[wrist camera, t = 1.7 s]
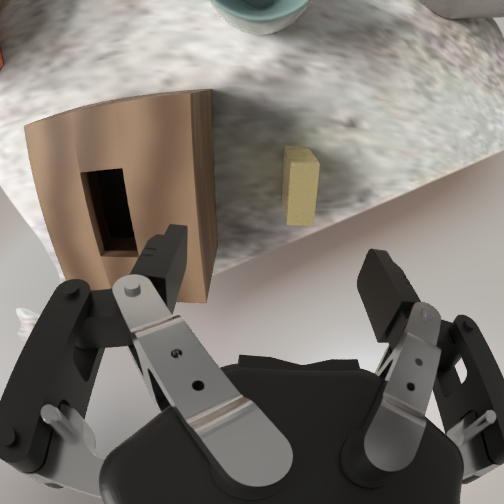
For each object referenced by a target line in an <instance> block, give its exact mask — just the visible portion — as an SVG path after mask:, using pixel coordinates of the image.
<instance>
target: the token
mask: <svg viewBox="0 0 504 504" xmlns="http://www.w3.org/2000/svg"><path fill="white" fill-rule="evenodd" d="M319 170H320V163H319V161H318V160H317V159H316V157H315V156H314V154H313V153H312V152H311V150H310V149H309V148H308V147H289V146H284V164H283V183H282V204H283V209H284V214H285V220H286V225H293V226H313V225H314V216H315V208H316V199H317V190H318V180H319Z"/></svg>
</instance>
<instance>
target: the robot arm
mask: <svg viewBox="0 0 504 504" xmlns="http://www.w3.org/2000/svg"><path fill="white" fill-rule="evenodd" d="M420 1H421V2H422V3H423V4H424V5H425V6H426V7H428V8H429V9H430V10H431V11H433V12H435V13H436V14H438V15H440V16H442V17H445V18H449V19H460V18H468V19H477V18H493V17H504V0H420ZM187 243H188V227H187V226H186V225H177V224H169V226H168V228H167V230H166V232H165V234H164V235H161V234H156V235H154V236H153V237H152V238H150V239H149V240H148V241H147V243H146V245H145V247H144V249H143V250H142V252H141V255H140V256H139V257H138V259H137V261H136V263H135V265H134V267H133V269H132V271H131V272H130V274H129V275H127V276H124V277H122V278H120V279H118V280H117V281H116V282H115V283H114V285H113V288H110V289H103V290H91V289H90V286H89V284H88V283H87V282H86V281H84V280H82V279H70V280H67V281H65V282H63V283H61V284H60V285H59V286H58V287H57V288H56V290H55V291H54V293H53V295H52V296H51V298H50V300H49V301H48V303H47V305H46V306H45V308H44V310H43V312H42V314H41V315H40V317H39V319H38V321H37V323H36V324H35V326H34V328H33V330H32V332H31V334H30V336H29V338H28V340H27V342H26V344H25V346H24V348H23V350H22V352H21V354H20V356H19V358H18V360H17V363H16V365H15V367H14V370H13V371H12V374H11V376H10V378H9V381H8V383H7V386H6V388H5V390H4V393H3V395H2V398H1V401H0V458H1V459H2V460H4V461H5V462H6V463H8V464H10V465H11V466H13V467H14V468H15V469H16V470H18V471H19V472H21V473H23V474H24V475H26V476H28V477H30V478H32V479H34V480H35V481H38V482H40V483H44V484H45V485H47V486H50V487H52V488H63V487H66V488H68V489H72V490H74V491H77V492H80V493H83V494H86V495H90V496H93V497H96V498H100V499H102V500H103V502H104V504H460V492H461V485H462V484H468V483H469V482H472V481H474V480H476V479H477V478H479V477H481V476H483V475H485V474H487V473H488V472H490V471H492V470H494V469H495V468H497V467H499V466H500V465H502V464H503V463H504V378H503V376H502V373H501V371H500V369H499V367H498V365H497V363H496V361H495V359H494V356H493V354H492V352H491V350H490V348H489V346H488V344H487V343H486V341H485V339H484V337H483V335H482V333H481V331H480V329H479V327H478V326H477V324H476V323H475V322H474V321H473V320H472V319H471V318H469V317H467V316H465V315H458V316H457V317H456V318H455V320H454V321H453V323H451V322H448V321H444V320H441V316H440V314H439V312H438V311H437V310H436V309H435V308H434V307H433V306H431V305H430V304H428V303H425V302H421V301H420V299H419V297H418V296H417V294H416V292H415V291H414V289H413V287H412V285H411V284H410V282H409V280H408V279H407V278H406V275H405V274H404V272H403V270H402V269H401V268H400V267H399V266H398V265H397V264H395V263H394V262H393V261H392V259H391V257H390V256H389V254H388V253H387V251H384V250H377V249H370V250H369V251H368V253H367V255H366V258H365V261H364V263H363V266H362V268H361V271H360V273H359V276H358V279H357V288H358V291H359V294H360V296H361V299H362V301H363V304H364V307H365V309H366V312H367V314H368V317H369V320H370V322H371V325H372V328H373V331H374V333H375V336H376V339H377V342H379V343H383V342H385V343H386V342H388V343H389V346H388V347H387V349H386V351H385V353H384V355H383V357H382V359H381V361H380V363H379V366H378V368H377V370H376V372H375V374H374V373H372V372H370V371H367V370H364V369H360V367H359V363H358V360H357V359H352V360H337V359H336V360H334V359H331V360H326V361H322V362H317V363H312V364H307V365H299V364H295V363H290V362H287V361H283V360H279V359H276V358H272V357H262V356H249V355H239V359H238V364H232V365H228V366H224V367H221V368H219V366H218V365H217V364H216V363H215V361H214V360H213V359H212V357H211V356H210V355H209V354H208V352H207V351H206V349H205V348H204V347H203V345H202V344H201V343H200V341H199V340H198V338H197V337H196V336H195V334H194V333H193V332H192V330H191V329H190V327H189V326H188V325H187V323H186V322H185V320H184V319H183V318H182V317H181V316H179V315H177V316H175V317H173V311H174V308H175V304H176V301H177V297H178V294H179V291H180V287H181V284H182V281H183V277H184V274H185V271H186V265H187ZM120 346H127V348H128V350H129V352H130V354H131V357H132V359H133V361H134V363H135V365H136V367H137V369H138V371H139V373H140V374H141V376H142V378H143V380H144V382H145V384H146V387H147V389H148V391H149V394H150V396H151V398H152V400H153V402H154V404H155V405H156V407H157V409H158V411H159V412H160V414H158V415H157V416H156V417H155V418H153V419H152V420H151V421H150V422H148V423H147V424H146V425H145V426H143V427H142V428H141V429H140V430H138V431H137V432H136V433H135V434H133V435H132V436H131V437H129V438H128V439H127V440H125V441H124V442H123V443H121V444H120V445H119V446H118V447H116V448H115V449H114V450H113V451H111V452H110V454H109V455H108V456H107V457H106V459H105V460H102V459H100V458H99V457H98V455H97V453H96V446H95V445H96V439H95V435H94V432H93V430H92V429H91V428H90V426H89V425H88V424H87V423H86V422H85V421H84V419H85V415H86V411H87V407H88V403H89V400H90V396H91V393H92V389H93V386H94V382H95V379H96V376H97V372H98V369H99V366H100V362H101V359H102V356H103V353H104V350H105V348H107V347H120ZM461 357H462V359H463V362H464V364H465V366H466V369H467V377H466V379H465V381H464V382H463V383H462V384H461V382H460V379H459V376H458V374H457V372H456V369H455V365H456V363H457V362H458V361H459V360H460V359H461ZM432 389H433V392H434V395H435V399H436V401H437V405H438V408H439V412H440V416H441V419H442V423H443V426H444V430H445V434H446V435H445V434H444V433H443V432H442V431H441V430H440V429H439V428H437V427H436V426H435V425H434V424H433V423H432V422H431V421H430V420H429V419H427V418H426V417H425V412H426V409H427V406H428V403H429V399H430V395H431V392H432Z"/></svg>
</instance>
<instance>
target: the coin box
mask: <svg viewBox="0 0 504 504" xmlns="http://www.w3.org/2000/svg"><path fill="white" fill-rule="evenodd" d="M24 130H25V137H26V143H27V149H28V154H29V160H30V165H31V169H32V174H33V178H34V183H35V187H36V191H37V195H38V199H39V202H40V206H41V209H42V213H43V216H44V220H45V223H46V226H47V229H48V232H49V236H50V239H51V242H52V244H53V247H54V250H55V253H56V256H57V258H58V261H59V264H60V266H61V269H62V271H63V274H64V276H65V279H66V281H67V280H70V279H82V280H84V281H86V282H87V283H88V284H89V286H90V289H91V290H103V289H110V288H113V285H114V283H115V282H116V281H117V280H118V279H120V278H122V277H124V276H127V275H129V274H130V272H131V271H132V269H133V267H134V265H135V263H136V261H137V259H138V257H139V256H140V255H141V252H142V250H143V249H144V247H145V245H146V243H147V241H148V240H149V239H150V238H152V237H153V236H154V235H156V234H161V235H164V234H165V232H166V230H167V228H168V226H169V224H177V225H186V226H187V227H188V243H187V265H186V271H185V274H184V277H183V281H182V284H181V287H180V291H179V294H178V297H177V301H176V302H187V303H207V297H208V292H209V287H210V281H211V277H212V272H213V266H214V261H215V256H216V251H217V246H218V242H217V225H216V206H215V185H214V161H213V130H212V89H203V90H188V91H176V92H166V93H157V94H149V95H142V96H135V97H129V98H123V99H117V100H111V101H106V102H101V103H96V104H92V105H87V106H83V107H79V108H75V109H72V110H69V111H65V112H62V113H59V114H56V115H53V116H50V117H47V118H44V119H41V120H38V121H36V122H33V123H30V124H28V125H25V126H24ZM117 168H123V175H124V181H125V188H126V194H127V199H128V205H129V210H130V216H131V221H132V226H133V230H134V235H135V238H111V237H110V233H109V229H108V225H107V220H106V216H105V212H104V207H103V202H102V198H101V193H100V188H99V182H98V177H97V171H98V170H107V169H117Z"/></svg>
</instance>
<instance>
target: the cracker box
mask: <svg viewBox="0 0 504 504" xmlns="http://www.w3.org/2000/svg"><path fill="white" fill-rule="evenodd" d="M2 66H3V60H2V56H1V51H0V68H1V67H2Z"/></svg>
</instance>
